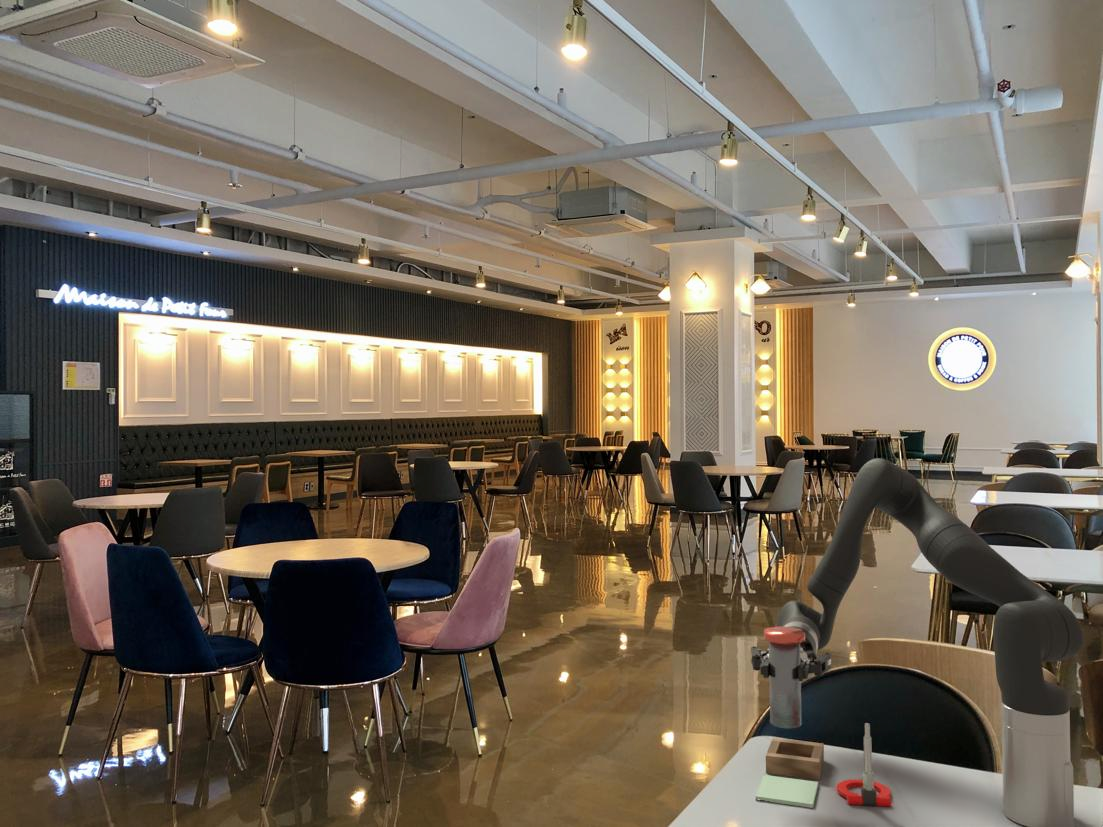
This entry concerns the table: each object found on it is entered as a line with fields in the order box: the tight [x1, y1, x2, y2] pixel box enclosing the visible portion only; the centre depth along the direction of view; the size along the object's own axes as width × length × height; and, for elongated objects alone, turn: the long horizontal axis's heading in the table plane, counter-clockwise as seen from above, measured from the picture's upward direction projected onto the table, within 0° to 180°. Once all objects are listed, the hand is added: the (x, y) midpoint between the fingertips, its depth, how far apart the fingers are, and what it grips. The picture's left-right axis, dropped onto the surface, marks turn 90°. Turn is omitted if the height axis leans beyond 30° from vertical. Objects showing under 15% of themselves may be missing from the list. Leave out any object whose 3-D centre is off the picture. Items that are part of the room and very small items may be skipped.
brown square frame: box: [765, 737, 825, 781], centre depth 159 cm, size 9×9×3 cm
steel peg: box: [763, 626, 805, 730], centre depth 148 cm, size 7×7×15 cm
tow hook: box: [836, 722, 892, 807], centre depth 147 cm, size 8×13×9 cm
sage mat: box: [755, 774, 819, 809], centre depth 148 cm, size 9×9×1 cm
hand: (783, 673), depth 146 cm, fingers closed on steel peg, 5 cm apart
